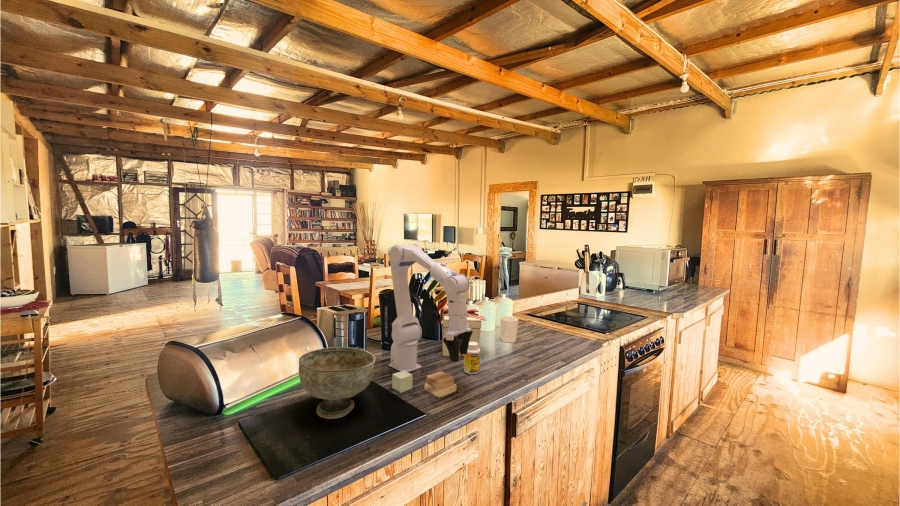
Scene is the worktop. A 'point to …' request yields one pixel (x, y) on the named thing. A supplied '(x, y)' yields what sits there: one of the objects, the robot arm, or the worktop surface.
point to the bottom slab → (440, 392)
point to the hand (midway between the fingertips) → (459, 357)
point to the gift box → (474, 324)
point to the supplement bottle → (472, 359)
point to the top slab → (440, 380)
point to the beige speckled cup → (508, 329)
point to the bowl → (336, 377)
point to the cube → (402, 381)
